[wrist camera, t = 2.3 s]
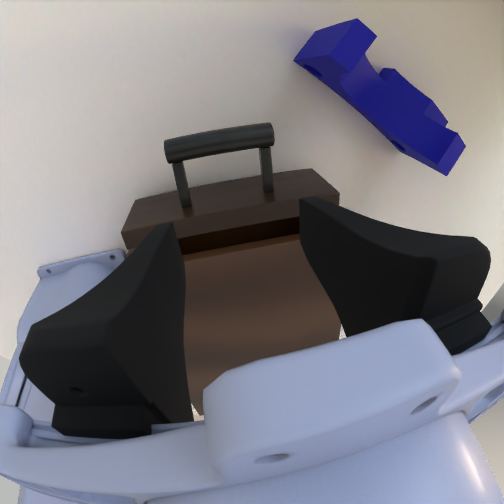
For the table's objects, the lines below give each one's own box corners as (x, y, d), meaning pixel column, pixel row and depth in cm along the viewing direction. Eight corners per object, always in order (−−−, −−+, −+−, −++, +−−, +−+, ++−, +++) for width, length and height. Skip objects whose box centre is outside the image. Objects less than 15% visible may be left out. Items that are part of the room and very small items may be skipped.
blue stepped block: (425, 114, 20) (474, 131, 15) (400, 151, 21) (446, 176, 17) (325, 17, 15) (369, 2, 10) (293, 60, 16) (329, 54, 11)
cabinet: (137, 222, 21) (120, 274, 16) (315, 189, 22) (353, 230, 17) (195, 367, 32) (199, 415, 27) (311, 344, 33) (328, 389, 28)
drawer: (120, 144, 17) (98, 163, 13) (309, 112, 18) (340, 122, 14) (194, 357, 30) (196, 394, 26) (309, 334, 31) (323, 368, 27)
